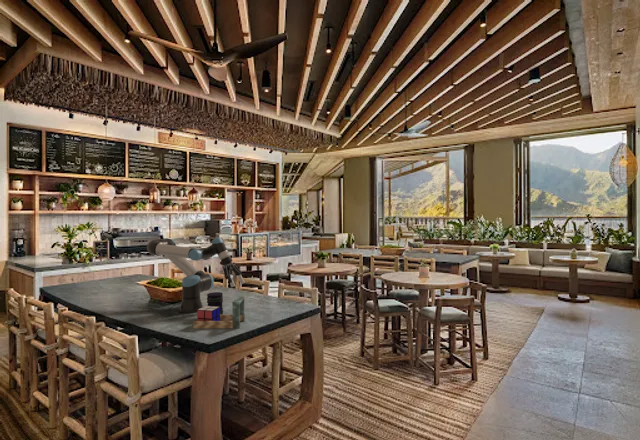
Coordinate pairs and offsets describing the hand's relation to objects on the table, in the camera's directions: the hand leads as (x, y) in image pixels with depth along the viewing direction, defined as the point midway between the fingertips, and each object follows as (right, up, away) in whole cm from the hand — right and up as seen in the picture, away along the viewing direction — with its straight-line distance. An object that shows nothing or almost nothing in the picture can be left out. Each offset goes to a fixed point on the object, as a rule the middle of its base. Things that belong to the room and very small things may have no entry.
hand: (238, 285), depth 267 cm
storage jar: (-11, -17, -21) cm, 29 cm away
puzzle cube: (-10, -18, -38) cm, 43 cm away
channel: (-3, -17, -38) cm, 42 cm away
